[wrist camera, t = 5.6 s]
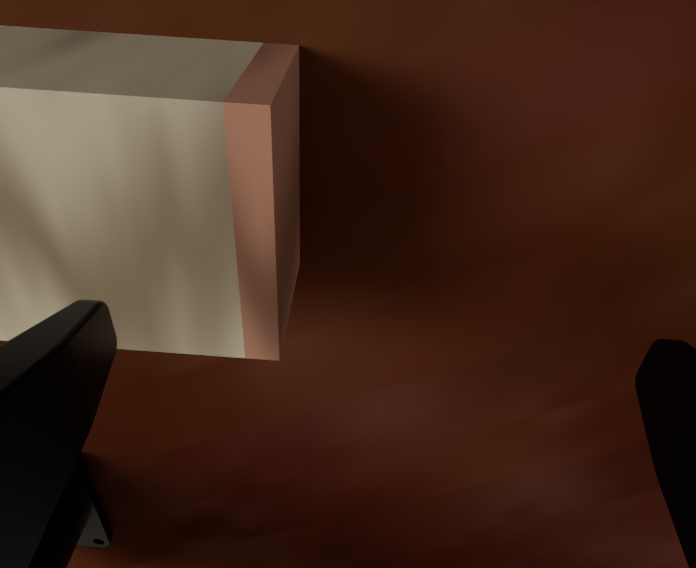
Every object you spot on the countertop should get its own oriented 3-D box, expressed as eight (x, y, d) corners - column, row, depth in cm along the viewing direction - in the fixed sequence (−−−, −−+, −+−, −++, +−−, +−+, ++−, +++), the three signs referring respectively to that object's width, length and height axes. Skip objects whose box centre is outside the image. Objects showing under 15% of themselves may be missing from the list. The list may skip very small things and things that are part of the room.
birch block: (279, 360, 13) (-61, 336, 13) (300, 262, 16) (27, 243, 16) (270, 105, 9) (-201, 73, 9) (299, 44, 12) (-52, 21, 13)
